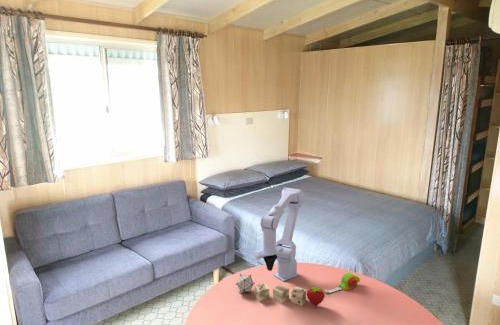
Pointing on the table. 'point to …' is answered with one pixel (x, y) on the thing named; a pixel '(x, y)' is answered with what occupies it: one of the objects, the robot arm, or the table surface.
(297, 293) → the pip block
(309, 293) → the strawberry
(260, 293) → the pip block
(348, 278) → the toy measuring tape
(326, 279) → the table surface
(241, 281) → the game die
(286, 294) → the plain block
